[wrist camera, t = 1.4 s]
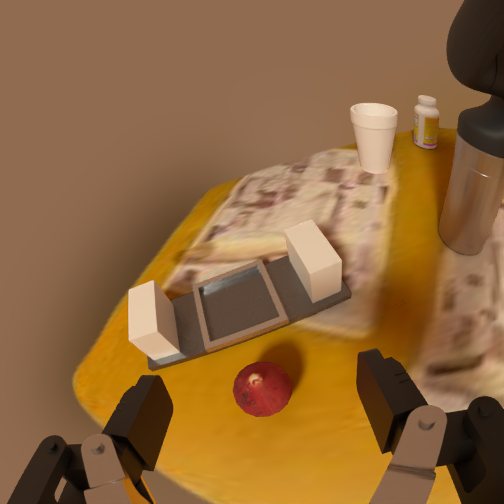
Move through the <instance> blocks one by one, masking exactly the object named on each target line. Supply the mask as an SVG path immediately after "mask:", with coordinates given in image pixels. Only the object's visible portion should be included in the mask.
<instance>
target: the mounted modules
mask: <svg viewBox="0 0 504 504" xmlns="http://www.w3.org/2000/svg"><path fill="white" fill-rule="evenodd" d="M284 235H285V240H286V244H287V249H288V254H289V259H290V262H291V264H292V266H293V267H294V269H295V271H296V273H297V275H298V277H299V278H300V280H301V282H302V284H303V286H304V288H305V290H306V291H307V293H308V295H309V297H310V299H311V301H312V303H315V302H317V301H319V300H322V299H324V298H326V297H329V296H331V295H333V294H335V293H338V292H340V291H341V277H342V260H341V259H340V257H339V256H338V254H337V253H336V251H335V250H334V249H333V247H332V246H331V245H330V243H329V242H328V240H327V239H326V238H325V236H324V235H323V234H322V232H321V231H320V230H319V228H318V227H317V226H316V224H315V223H314V222H313V220H312V219H311V220H308V221H305V222H303V223H300V224H298V225H295V226H292V227H290V228H287V229H284ZM128 324H129V341H130V342H131V343H133V344H134V345H135V346H136V347H138V348H139V349H140V350H141V351H143V352H144V353H145V354H147V355H148V356H149V357H150V358H152V359H153V360H157V359H160V358H163V357H167V356H170V355H173V354H176V353H180V348H179V341H178V335H177V328H176V321H175V314H174V306H173V304H172V302H171V301H170V300H169V299H168V297H167V296H166V295H165V294H164V292H163V291H162V290H161V289H160V287H159V286H158V285H157V283H156V282H155V281H154V280H152V281H150V282H147V283H145V284H142V285H140V286H137V287H135V288H132V289H129V303H128Z"/></svg>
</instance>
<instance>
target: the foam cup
mask: <svg viewBox="0 0 504 504" xmlns="http://www.w3.org/2000/svg"><path fill="white" fill-rule="evenodd" d="M350 113H351V121H352V122H353V127H354V132H355V137H356V142H357V148H358V154H359V160H360V164H361V167H362V169H363V170H365V171H367V172H370V173H376V174H380V173H384V172H386V171H387V170H388V168H389V164H390V158H391V153H392V147H393V141H394V135H395V129H396V126H397V110H395V109H394V108H393V107H390V106H387V105H384V104H378V103H362V104H356V105H354V106H352V107H351V109H350Z"/></svg>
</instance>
